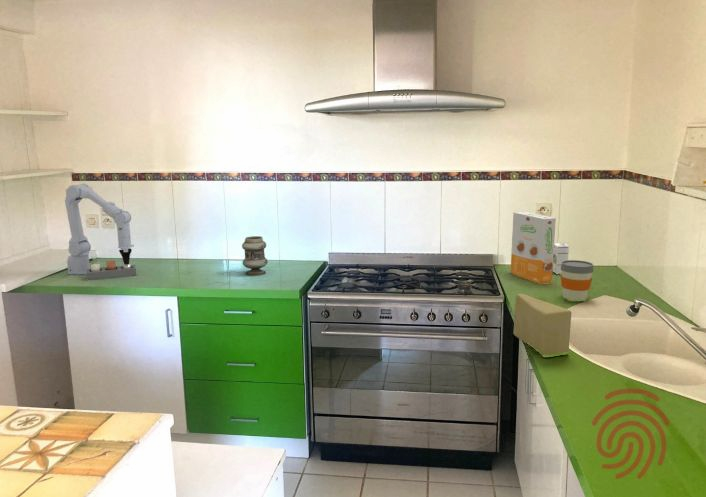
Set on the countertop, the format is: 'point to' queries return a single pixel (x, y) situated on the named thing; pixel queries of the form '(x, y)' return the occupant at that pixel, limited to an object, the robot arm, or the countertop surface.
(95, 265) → the ivory plunger
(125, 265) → the steel plunger
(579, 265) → the reusable coffee cup
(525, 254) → the cereal box
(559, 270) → the syrup box
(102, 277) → the button panel
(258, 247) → the apothecary jar
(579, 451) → the countertop surface
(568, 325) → the cheese
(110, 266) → the brick-red plunger
